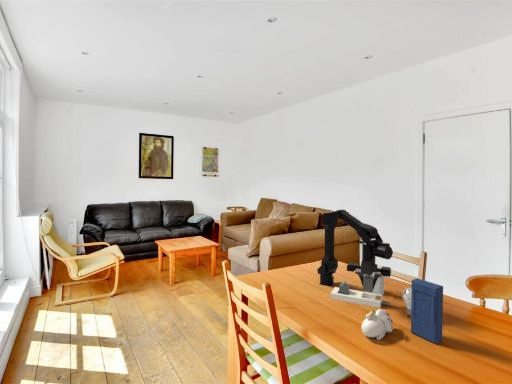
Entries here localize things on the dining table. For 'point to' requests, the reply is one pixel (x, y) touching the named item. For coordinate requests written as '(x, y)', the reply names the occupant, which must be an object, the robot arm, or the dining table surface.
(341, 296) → the strip
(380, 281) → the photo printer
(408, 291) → the light bulb
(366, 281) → the plug
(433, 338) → the electronic device
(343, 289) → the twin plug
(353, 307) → the dining table surface
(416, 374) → the dining table surface
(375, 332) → the cat figurine
